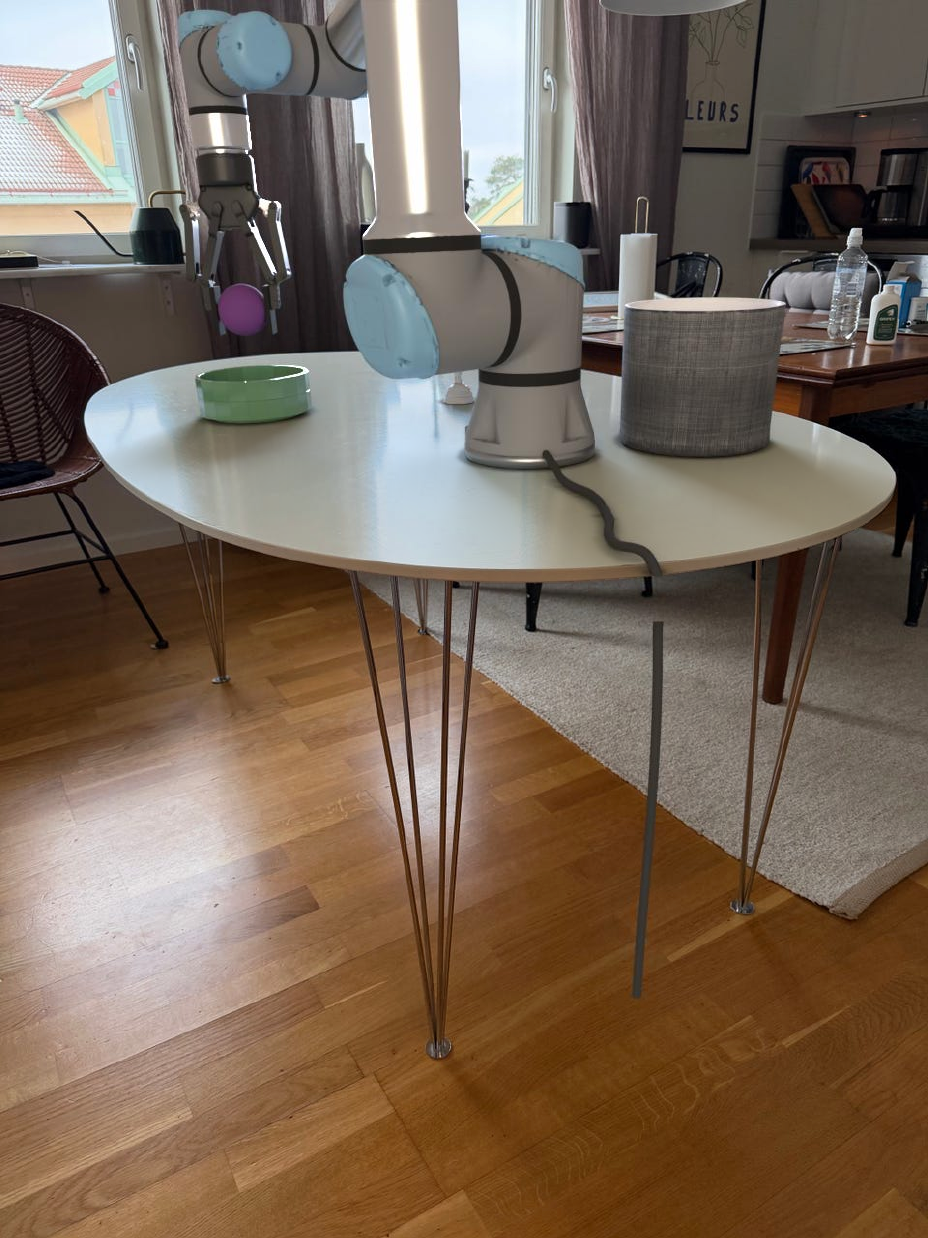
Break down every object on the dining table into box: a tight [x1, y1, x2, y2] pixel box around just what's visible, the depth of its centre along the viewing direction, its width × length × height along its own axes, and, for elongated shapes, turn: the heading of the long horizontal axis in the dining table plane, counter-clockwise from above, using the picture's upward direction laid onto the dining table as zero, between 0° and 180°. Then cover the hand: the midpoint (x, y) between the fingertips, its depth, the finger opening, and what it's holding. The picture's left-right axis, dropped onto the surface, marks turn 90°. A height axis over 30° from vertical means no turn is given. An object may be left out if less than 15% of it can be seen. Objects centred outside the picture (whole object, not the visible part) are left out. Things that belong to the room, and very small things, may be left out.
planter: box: [618, 296, 787, 458], centre depth 101 cm, size 18×18×16 cm
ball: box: [218, 283, 266, 337], centre depth 122 cm, size 7×7×7 cm
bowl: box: [194, 364, 313, 424], centre depth 127 cm, size 16×16×6 cm
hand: (246, 333), depth 124 cm, fingers closed on ball, 7 cm apart
